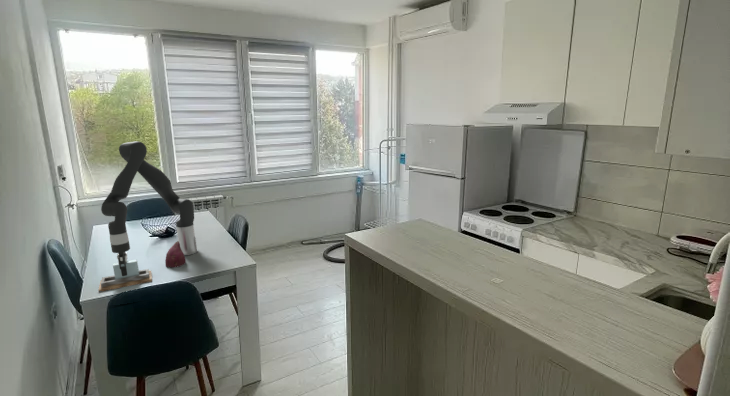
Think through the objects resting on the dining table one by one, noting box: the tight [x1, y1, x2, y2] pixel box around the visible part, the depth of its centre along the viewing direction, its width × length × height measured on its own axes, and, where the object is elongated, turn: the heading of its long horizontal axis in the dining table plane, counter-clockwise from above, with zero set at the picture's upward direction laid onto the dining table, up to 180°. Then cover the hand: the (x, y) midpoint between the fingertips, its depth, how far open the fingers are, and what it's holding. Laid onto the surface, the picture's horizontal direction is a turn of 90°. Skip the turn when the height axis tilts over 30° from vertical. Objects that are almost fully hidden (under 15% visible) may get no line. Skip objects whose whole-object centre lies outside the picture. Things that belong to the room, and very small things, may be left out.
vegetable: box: [164, 240, 187, 269], centre depth 207 cm, size 10×10×15 cm
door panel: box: [112, 259, 140, 280], centre depth 185 cm, size 10×3×9 cm, turn 120°
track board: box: [98, 268, 153, 292], centre depth 186 cm, size 22×12×3 cm, turn 121°
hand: (125, 272), depth 185 cm, fingers open, 8 cm apart
